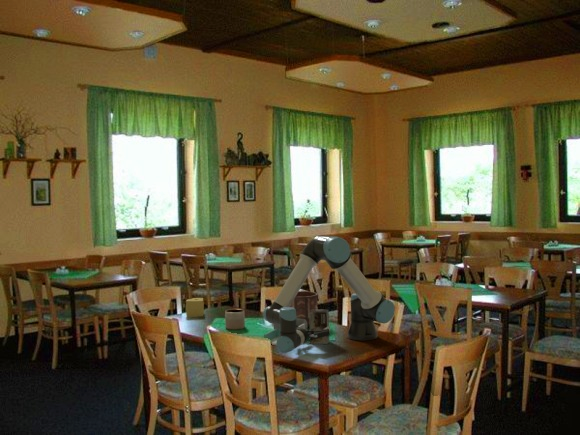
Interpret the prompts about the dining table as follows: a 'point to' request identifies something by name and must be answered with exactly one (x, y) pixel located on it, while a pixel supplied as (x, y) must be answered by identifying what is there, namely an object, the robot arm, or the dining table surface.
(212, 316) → the dining table surface
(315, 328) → the coffee box
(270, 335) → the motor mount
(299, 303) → the pottery
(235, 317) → the planter
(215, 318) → the dining table surface
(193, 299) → the cheese
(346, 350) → the dining table surface
